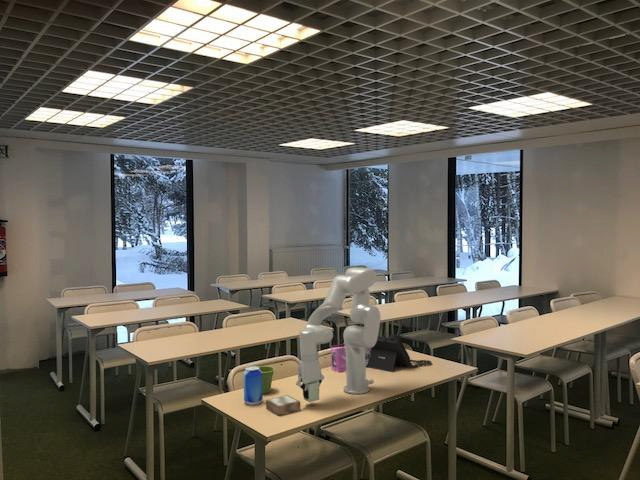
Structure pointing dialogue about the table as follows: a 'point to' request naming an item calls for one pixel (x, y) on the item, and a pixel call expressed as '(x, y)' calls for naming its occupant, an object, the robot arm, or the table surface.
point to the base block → (283, 405)
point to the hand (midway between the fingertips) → (311, 396)
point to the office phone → (391, 354)
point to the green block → (313, 392)
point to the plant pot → (266, 378)
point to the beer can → (252, 385)
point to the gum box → (343, 357)
